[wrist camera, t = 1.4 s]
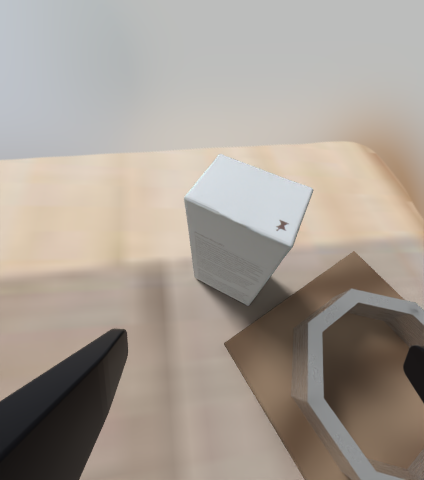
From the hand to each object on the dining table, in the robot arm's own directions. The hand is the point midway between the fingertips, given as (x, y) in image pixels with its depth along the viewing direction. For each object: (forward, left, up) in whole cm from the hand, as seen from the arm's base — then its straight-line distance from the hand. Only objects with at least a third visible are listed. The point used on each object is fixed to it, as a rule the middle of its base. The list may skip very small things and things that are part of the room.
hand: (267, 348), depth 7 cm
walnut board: (-7, -8, -13) cm, 17 cm away
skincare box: (+6, -4, -13) cm, 15 cm away
